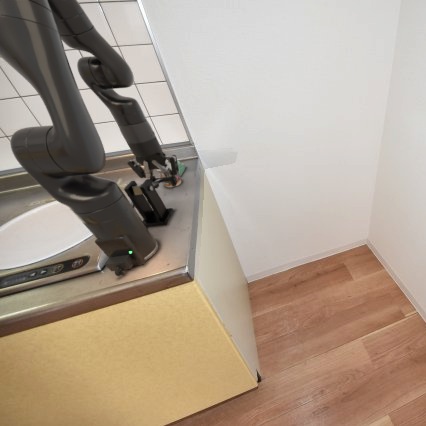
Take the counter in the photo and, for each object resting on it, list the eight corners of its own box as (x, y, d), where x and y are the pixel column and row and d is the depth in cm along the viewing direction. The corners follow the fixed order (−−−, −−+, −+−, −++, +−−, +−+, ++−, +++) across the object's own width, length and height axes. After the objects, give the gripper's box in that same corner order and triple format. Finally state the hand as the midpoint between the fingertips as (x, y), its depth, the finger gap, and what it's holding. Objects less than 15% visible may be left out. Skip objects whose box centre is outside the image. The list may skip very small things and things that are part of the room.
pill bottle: (175, 188, 87) (163, 164, 80) (161, 187, 88) (148, 163, 82) (185, 180, 91) (174, 156, 85) (172, 179, 92) (160, 155, 86)
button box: (180, 176, 94) (176, 167, 91) (164, 177, 93) (159, 168, 91) (185, 167, 99) (182, 159, 97) (170, 169, 99) (166, 160, 96)
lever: (157, 183, 80) (154, 176, 79) (172, 181, 80) (170, 174, 79) (129, 195, 65) (126, 187, 65) (148, 193, 66) (145, 185, 65)
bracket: (151, 213, 76) (129, 178, 68) (174, 210, 77) (155, 176, 68) (141, 228, 71) (117, 192, 62) (166, 225, 71) (145, 189, 63)
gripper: (107, 144, 66) (138, 194, 77) (161, 139, 67) (185, 189, 78) (120, 134, 72) (148, 182, 82) (170, 130, 73) (191, 178, 84)
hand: (166, 186), depth 80 cm, fingers closed on lever, 5 cm apart
